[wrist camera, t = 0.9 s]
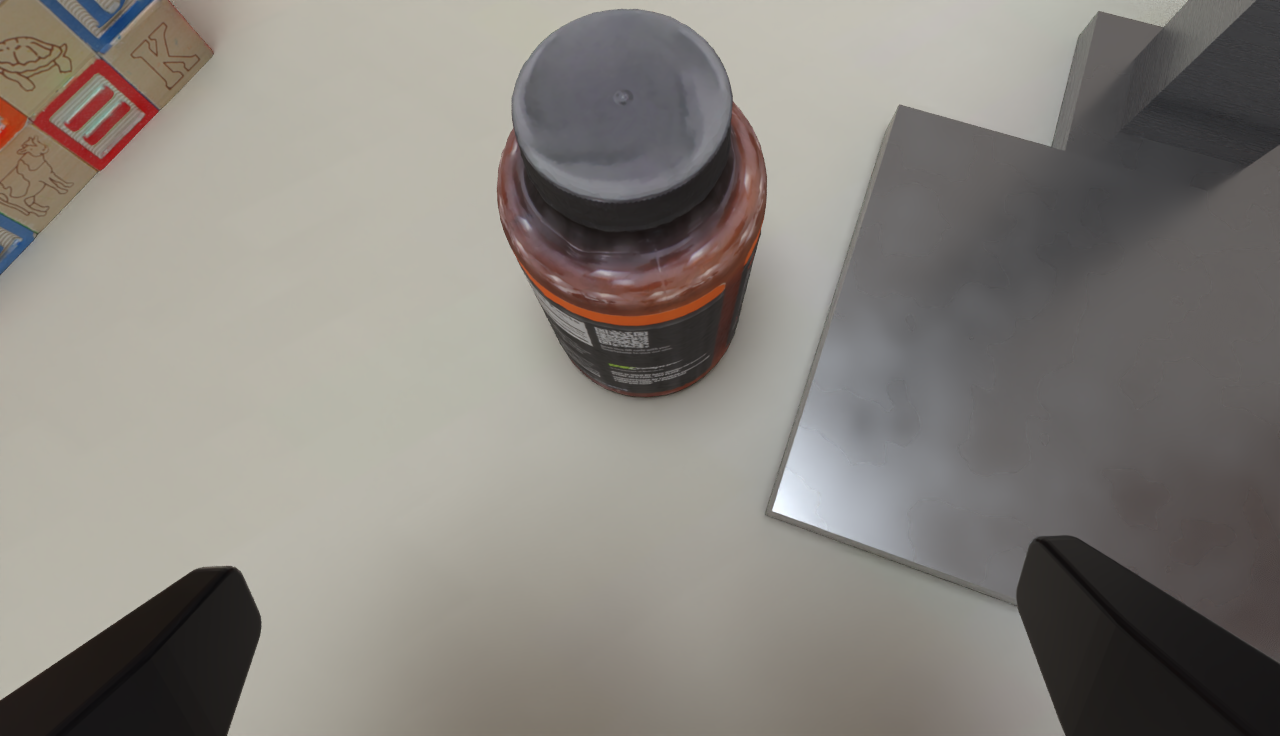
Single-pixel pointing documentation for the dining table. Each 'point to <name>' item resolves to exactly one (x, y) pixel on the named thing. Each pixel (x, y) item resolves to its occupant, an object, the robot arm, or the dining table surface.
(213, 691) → the robot arm
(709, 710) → the dining table surface
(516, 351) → the dining table surface
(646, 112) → the supplement bottle
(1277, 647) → the arbor press
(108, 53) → the stack of blocks
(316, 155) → the dining table surface
